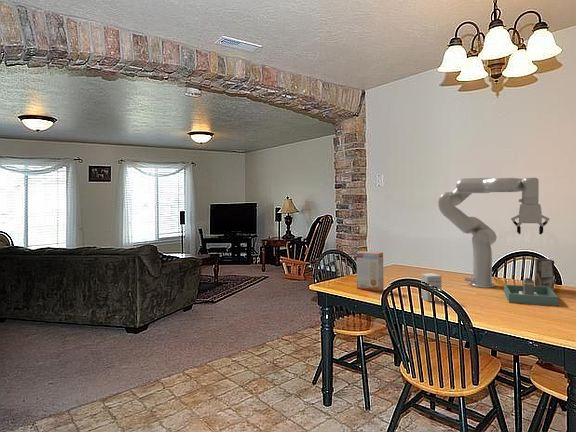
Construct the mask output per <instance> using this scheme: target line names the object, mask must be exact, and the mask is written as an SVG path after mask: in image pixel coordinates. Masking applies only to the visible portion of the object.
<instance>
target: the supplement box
mask: <svg viewBox="0 0 576 432" xmlns="http://www.w3.org/2000/svg"><path fill="white" fill-rule="evenodd" d="M422 282H425V283H427V284H429V285H431V286H434V287H437V288H438V289H440V290H441V291H442V282H443V281H442V275H439V274H437V273H434V272H430V273H421V283H422ZM422 296H423V299H422V300H424V301H426V302H427V301H431V295H430V293H429V292H427V291H424V290H422V289H421V297H422ZM435 301H436V302H440V301H439V299H438V298H437V297H435Z"/></svg>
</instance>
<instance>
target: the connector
mask: <svg viewBox="0 0 576 432" xmlns="http://www.w3.org/2000/svg"><path fill="white" fill-rule="evenodd" d="M522 283H523V285H522V286H523V294H526V295H534V286H535V280H534V279H532V278H531V277H525V278H524V279H523V281H522Z"/></svg>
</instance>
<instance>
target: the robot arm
mask: <svg viewBox="0 0 576 432" xmlns="http://www.w3.org/2000/svg"><path fill="white" fill-rule="evenodd" d="M539 183H540V182H539V178H537V177H524V178H517V177H491V178H490V177H472V178H471V177H469V178H461V179H459V180H458V181H457V182H456V188H455V189H454V190H453V191H447V192H444V193H442V194H440V197H438V201H437V204H438V209H439V211H440V213H441V214H442V215H443V216H444V217H445V218H446V219H448V220H449V222H450V223H452V224H453V225H454V226H455V227H456V228H458V229H459V230H460V231H461V232H462V233H463V234H467V235H469V234H471V235H472V237H471V244H472V253H473V255H472V257H473V259H472V262H473V263H472V265H473V266H472V268H473V269H472V273H473V274H472V277H464V281H465V282H470V286H472V287H475V288H483V289H484V288H487V289H490V288H495V286H496V285H495V283H494V282H493V254H492V253H493V249H492V245H493V244H495V243H496V241H497V234H496V232H495V231H494V230H493V229H492V228H491V227H490V226H488V225H487V224H486V223H485V222H483V221H482V220H481V219H480V218H478V217H476V216H468V215H467V214H466V213H465V212H463V210H461V209H459V208H458V207H456V206H458V205H461V204H462V203H463V202H464V201H465V200H466V199H467V198H469V197H470V195H472V194H489V193H518V192H519V193H520V192H521V199H518V203H520V204H519V211H518V214H517V215H515V216H513V217H511V218H510V220H511V221H512V223H513V224H514V225H515V226H516V233H517V234H518V235H521V233H522V231H521V225H522V224H538V225H539V227H538V231H539V232H538V234H539V235H542V234H543V233H544V227H545V226H546V225H547V224H548V223H549V221H550V217H547V216H545V215H542V206H541V204H540V203H539V199H540V198H539V188H540V187H539V186H540V185H539ZM517 219H518V222H516V220H517ZM543 219H544V221H543ZM542 221H543V222H542Z"/></svg>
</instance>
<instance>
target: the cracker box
mask: <svg viewBox="0 0 576 432" xmlns="http://www.w3.org/2000/svg"><path fill="white" fill-rule="evenodd" d="M384 286H385V284H384V252H381V251H380V252H379V251H369V250H364V251H363V250H360V251H356V289H359V290H365V291H372V292H381V291H384V289H385V287H384Z"/></svg>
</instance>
